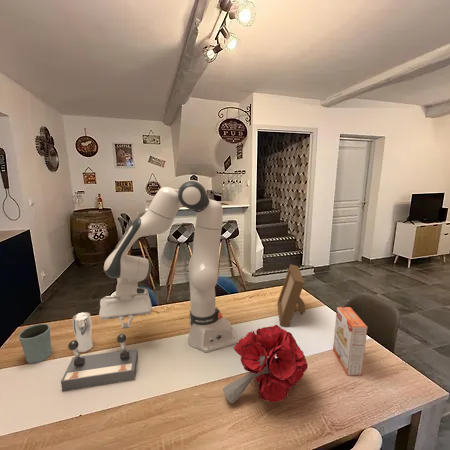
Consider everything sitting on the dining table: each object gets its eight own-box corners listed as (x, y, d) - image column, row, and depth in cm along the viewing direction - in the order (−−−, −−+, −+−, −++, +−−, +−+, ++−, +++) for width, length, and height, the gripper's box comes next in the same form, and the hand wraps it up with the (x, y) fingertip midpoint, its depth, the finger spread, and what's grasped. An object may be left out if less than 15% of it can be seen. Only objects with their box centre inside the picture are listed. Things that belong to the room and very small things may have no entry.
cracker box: (331, 350, 111) (336, 306, 106) (345, 350, 110) (351, 306, 106) (345, 375, 97) (351, 326, 93) (362, 376, 97) (368, 326, 92)
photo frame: (279, 326, 127) (283, 279, 122) (277, 304, 148) (279, 263, 143) (310, 329, 125) (315, 281, 120) (303, 306, 146) (307, 265, 141)
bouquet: (257, 448, 78) (329, 381, 84) (218, 398, 71) (300, 329, 77) (232, 394, 98) (292, 344, 104) (200, 352, 92) (266, 300, 98)
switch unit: (138, 357, 106) (137, 347, 105) (134, 379, 95) (133, 369, 94) (73, 366, 101) (72, 356, 100) (62, 391, 89) (60, 380, 88)
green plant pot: (58, 352, 108) (55, 327, 106) (32, 368, 99) (28, 341, 97) (43, 345, 113) (40, 321, 110) (17, 360, 104) (12, 334, 101)
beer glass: (86, 354, 108) (82, 321, 104) (72, 351, 109) (67, 319, 106) (97, 343, 114) (94, 312, 111) (84, 341, 116) (80, 311, 113)
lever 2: (130, 352, 102) (126, 331, 95) (129, 360, 99) (125, 338, 93) (121, 353, 101) (117, 332, 95) (120, 361, 98) (115, 339, 92)
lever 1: (85, 358, 98) (78, 337, 91) (83, 366, 95) (76, 346, 89) (76, 359, 97) (68, 339, 91) (74, 368, 95) (65, 347, 88)
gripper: (98, 294, 104) (95, 330, 97) (150, 288, 109) (151, 322, 102) (102, 299, 110) (99, 333, 102) (152, 293, 114) (152, 326, 107)
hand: (125, 328), depth 102 cm, fingers closed
